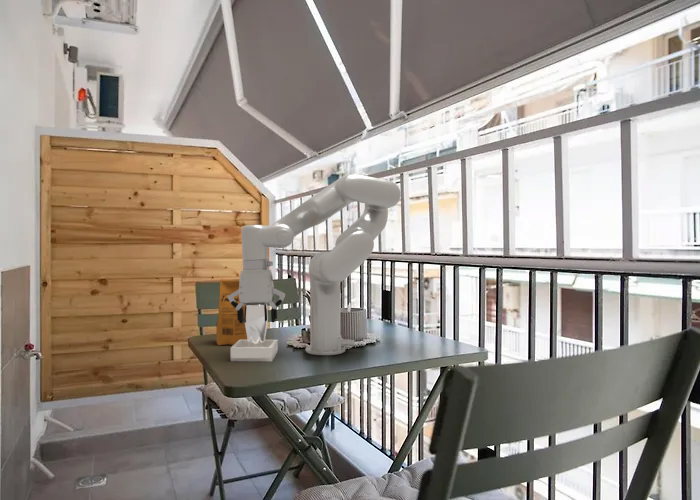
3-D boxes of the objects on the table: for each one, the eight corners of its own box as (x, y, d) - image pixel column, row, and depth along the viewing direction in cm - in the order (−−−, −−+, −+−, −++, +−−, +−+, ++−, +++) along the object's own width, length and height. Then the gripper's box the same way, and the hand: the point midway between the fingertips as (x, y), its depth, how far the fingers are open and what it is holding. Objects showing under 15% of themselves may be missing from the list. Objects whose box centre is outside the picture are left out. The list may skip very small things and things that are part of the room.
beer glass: (239, 354, 147) (239, 304, 147) (252, 350, 153) (252, 302, 153) (259, 356, 144) (259, 305, 144) (272, 352, 151) (272, 303, 151)
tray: (277, 352, 155) (277, 339, 155) (271, 361, 143) (271, 347, 143) (239, 352, 155) (239, 339, 155) (230, 361, 143) (230, 347, 143)
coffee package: (219, 340, 174) (218, 278, 174) (254, 339, 175) (254, 278, 175) (213, 346, 165) (212, 280, 164) (250, 345, 165) (250, 280, 165)
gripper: (285, 264, 152) (287, 319, 153) (229, 266, 152) (231, 321, 153) (282, 265, 145) (284, 323, 145) (223, 267, 145) (225, 325, 145)
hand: (257, 322), depth 149 cm, fingers open, 9 cm apart
